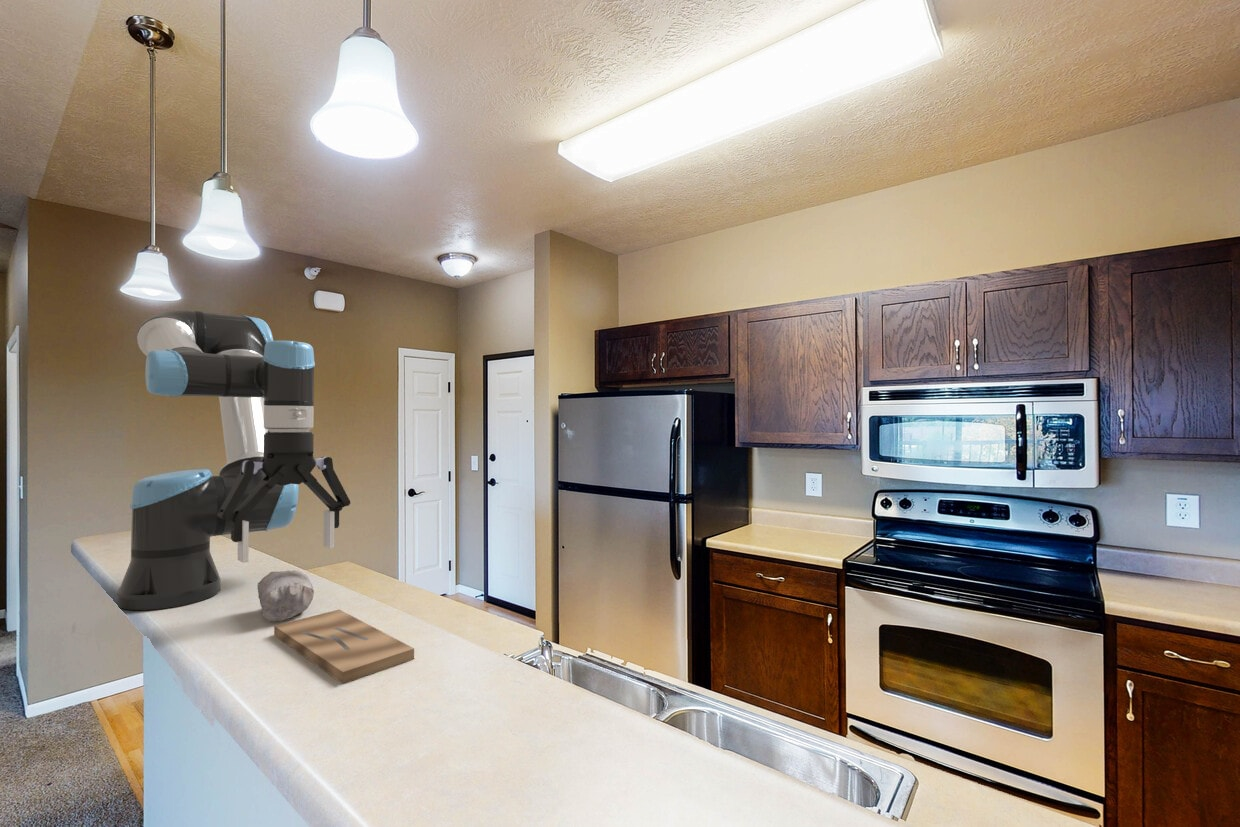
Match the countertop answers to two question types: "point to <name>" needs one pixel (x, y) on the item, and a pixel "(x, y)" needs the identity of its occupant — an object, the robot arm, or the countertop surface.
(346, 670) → the board
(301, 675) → the countertop surface
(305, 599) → the stone
